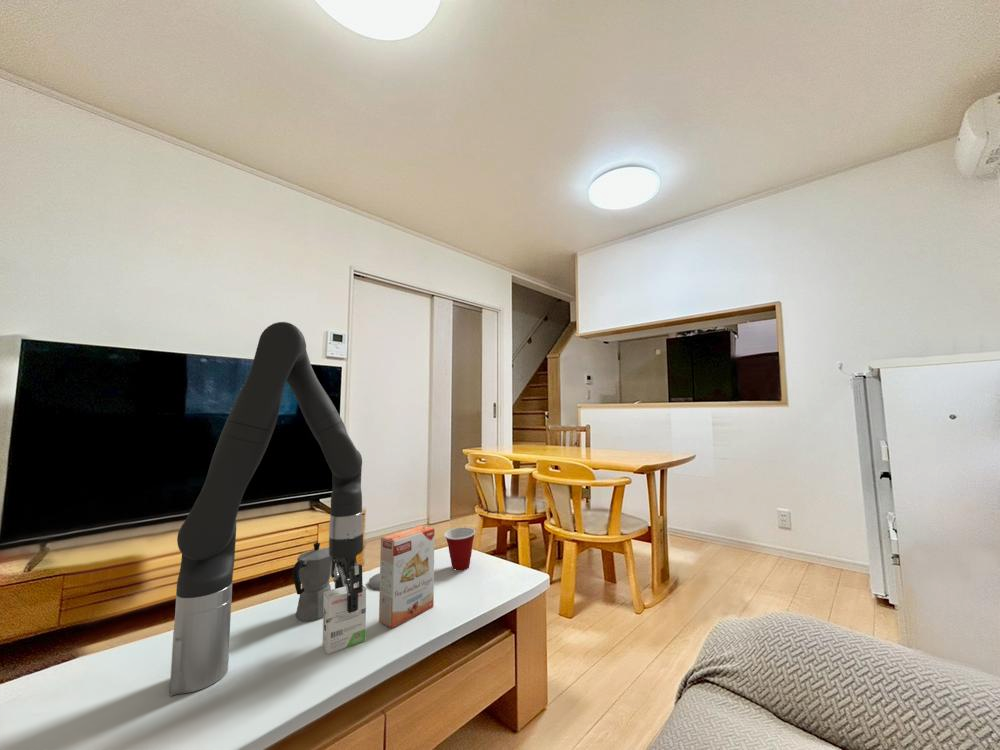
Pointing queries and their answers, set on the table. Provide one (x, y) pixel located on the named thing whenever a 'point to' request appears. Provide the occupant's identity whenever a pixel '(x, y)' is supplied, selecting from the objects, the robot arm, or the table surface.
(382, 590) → the cracker box
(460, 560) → the plastic cup
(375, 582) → the glossy grey dome
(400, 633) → the table surface
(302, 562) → the coffeepot
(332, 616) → the ink box
